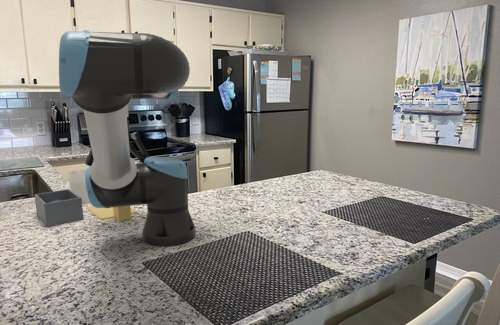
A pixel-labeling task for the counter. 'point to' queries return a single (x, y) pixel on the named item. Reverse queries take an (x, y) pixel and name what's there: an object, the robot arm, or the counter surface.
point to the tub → (59, 207)
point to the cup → (79, 184)
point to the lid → (113, 212)
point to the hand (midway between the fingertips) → (120, 184)
